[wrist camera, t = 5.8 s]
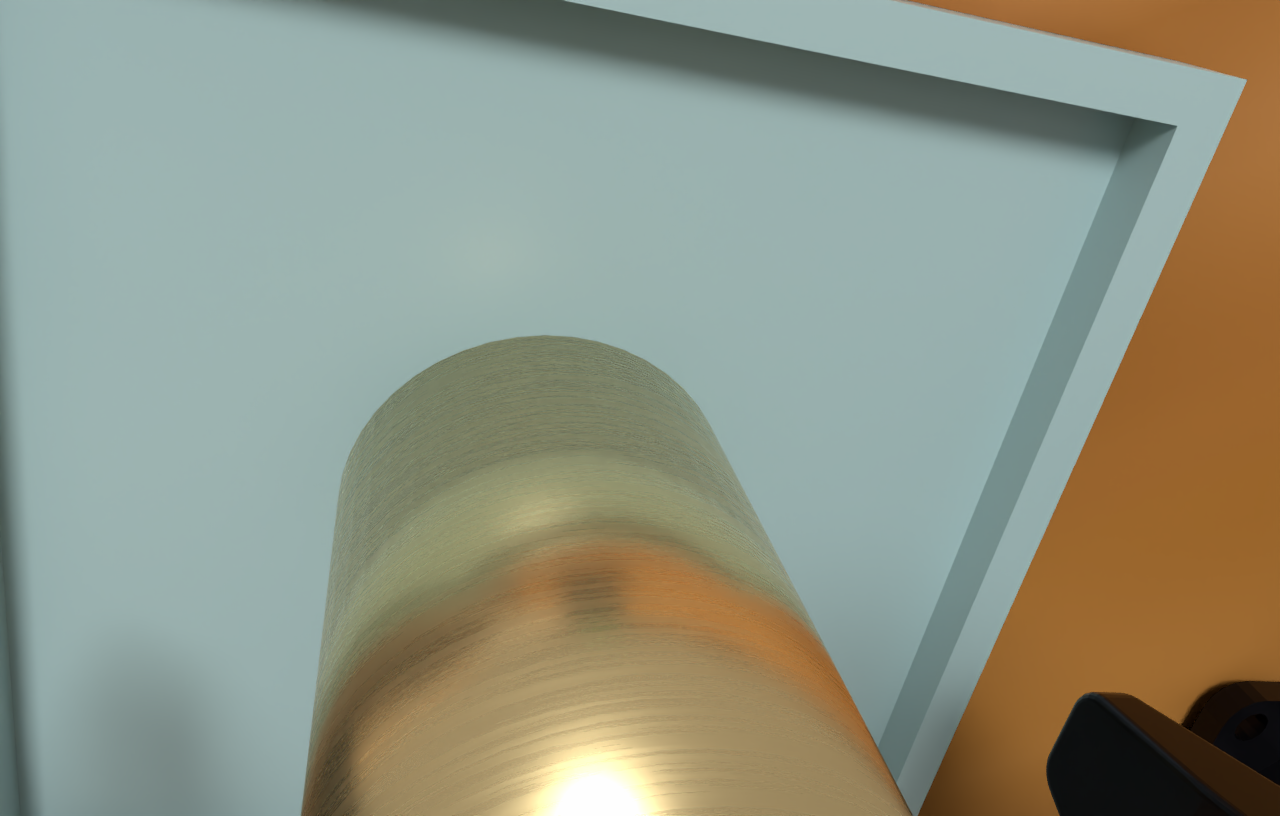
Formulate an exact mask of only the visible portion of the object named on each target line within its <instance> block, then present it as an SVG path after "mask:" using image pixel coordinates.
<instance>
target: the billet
mask: <svg viewBox="0 0 1280 816" xmlns="http://www.w3.org/2000/svg"><path fill="white" fill-rule="evenodd" d="M301 816H913V814H912V812H911V811H910V809H909V807H908V805H907V803H906V801H905V799H904V797H903V795H902V793H901V791H900V789H899V787H898V786H897V784H896V782H895V780H894V778H893V776H892V774H891V772H890V770H889V768H888V766H887V764H886V762H885V761H884V759H883V757H882V755H881V753H880V751H879V749H878V747H877V745H876V743H875V741H874V739H873V737H872V736H871V734H870V732H869V730H868V728H867V726H866V724H865V722H864V720H863V718H862V716H861V714H860V712H859V711H858V709H857V707H856V705H855V703H854V701H853V699H852V697H851V695H850V693H849V691H848V689H847V687H846V686H845V684H844V682H843V680H842V678H841V676H840V674H839V672H838V670H837V668H836V666H835V664H834V662H833V661H832V659H831V657H830V655H829V653H828V651H827V649H826V647H825V645H824V643H823V641H822V639H821V637H820V636H819V634H818V632H817V630H816V628H815V626H814V624H813V622H812V620H811V618H810V616H809V614H808V612H807V611H806V609H805V607H804V605H803V603H802V601H801V599H800V597H799V595H798V593H797V591H796V589H795V587H794V586H793V584H792V582H791V580H790V578H789V576H788V574H787V572H786V570H785V568H784V566H783V564H782V562H781V560H780V559H779V557H778V555H777V553H776V551H775V549H774V547H773V545H772V543H771V541H770V539H769V537H768V535H767V534H766V532H765V530H764V528H763V526H762V524H761V522H760V520H759V518H758V516H757V514H756V512H755V510H754V509H753V507H752V505H751V503H750V501H749V499H748V497H747V495H746V493H745V491H744V489H743V487H742V485H741V484H740V482H739V480H738V478H737V476H736V474H735V472H734V470H733V468H732V466H731V464H730V462H729V460H728V459H727V457H726V455H725V453H724V451H723V449H722V447H721V445H720V443H719V441H718V439H717V437H716V435H715V434H714V432H713V430H712V428H711V426H710V424H709V422H708V421H707V419H706V417H705V416H704V414H703V413H702V411H701V409H700V408H699V406H698V405H697V404H696V402H695V401H694V400H693V399H692V398H691V397H690V395H689V394H688V393H687V392H686V391H685V390H684V388H683V387H681V386H680V385H679V384H678V383H677V382H676V381H674V380H673V379H672V378H671V377H670V376H669V375H668V374H666V373H665V372H664V371H662V370H660V369H659V368H657V367H656V366H654V365H653V364H651V363H650V362H648V361H647V360H645V359H643V358H640V357H638V356H636V355H634V354H632V353H630V352H628V351H625V350H623V349H620V348H617V347H614V346H611V345H608V344H604V343H601V342H598V341H593V340H587V339H581V338H576V337H567V336H549V335H541V336H526V337H515V338H509V339H504V340H499V341H493V342H489V343H485V344H482V345H479V346H476V347H473V348H469V349H466V350H463V351H461V352H459V353H456V354H454V355H452V356H450V357H448V358H445V359H443V360H441V361H439V362H437V363H435V364H434V365H432V366H430V367H429V368H427V369H425V370H424V371H422V372H420V373H419V374H417V375H415V376H414V377H413V378H411V379H410V380H409V381H408V382H406V383H405V384H404V385H403V386H401V387H400V388H399V389H398V390H396V391H395V392H394V393H393V394H392V395H391V396H390V397H389V398H388V399H387V400H386V401H385V402H384V403H383V404H382V405H381V406H380V407H379V409H378V410H377V411H376V412H375V413H374V414H373V416H372V417H371V419H370V420H369V421H368V423H367V424H366V425H365V427H364V428H363V430H362V431H361V433H360V434H359V436H358V438H357V440H356V442H355V444H354V446H353V448H352V450H351V452H350V454H349V457H348V459H347V462H346V465H345V468H344V471H343V474H342V478H341V484H340V489H339V495H338V502H337V510H336V519H335V528H334V536H333V545H332V553H331V562H330V570H329V579H328V587H327V596H326V604H325V613H324V621H323V630H322V639H321V647H320V656H319V664H318V673H317V681H316V690H315V698H314V707H313V715H312V724H311V732H310V741H309V750H308V758H307V767H306V775H305V784H304V792H303V801H302V809H301Z"/></svg>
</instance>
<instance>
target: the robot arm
mask: <svg viewBox="0 0 1280 816" xmlns="http://www.w3.org/2000/svg"><path fill="white" fill-rule="evenodd" d="M1046 775H1047V781H1048V785H1049V789H1050V791H1051V794H1052V797H1053V799H1054V802H1055V805H1056V807H1057V810H1058V813H1059V815H1060V816H1280V682H1260V681H1245V682H1237V683H1234V684H1232V685H1229V686H1227V687H1225V688H1223V689H1221V690H1220V691H1219V692H1217V693H1216V694H1215V695H1213V696H1212V697H1211V698H1210V700H1209V701H1208V702H1207V703H1206V705H1205V706H1204V707H1203V709H1202V711H1201V713H1200V714H1199V716H1198V718H1197V720H1196V721H1195V723H1194V725H1193V726H1192V728H1191V730H1190V731H1189V730H1188V729H1186V728H1185V727H1183V726H1181V725H1180V724H1178V723H1176V722H1175V721H1173V720H1172V719H1170V718H1168V717H1167V716H1165V715H1163V714H1162V713H1160V712H1159V711H1157V710H1155V709H1154V708H1152V707H1150V706H1149V705H1147V704H1146V703H1144V702H1142V701H1141V700H1139V699H1137V698H1136V697H1134V696H1132V695H1128V694H1125V693H1110V692H1090V693H1087V694H1084V695H1083V696H1082V697H1080V698H1079V699H1078V700H1077V702H1076V703H1075V705H1074V707H1073V709H1072V711H1071V713H1070V714H1069V716H1068V718H1067V720H1066V722H1065V724H1064V726H1063V728H1062V730H1061V732H1060V734H1059V736H1058V738H1057V740H1056V742H1055V744H1054V746H1053V748H1052V750H1051V752H1050V754H1049V757H1048V760H1047V766H1046Z"/></svg>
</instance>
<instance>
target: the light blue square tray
mask: <svg viewBox="0 0 1280 816" xmlns="http://www.w3.org/2000/svg"><path fill="white" fill-rule="evenodd" d="M1246 81H1247V80H1246V79H1242V78H1238V77H1235V76H1231V75H1227V74H1223V73H1220V72H1216V71H1212V70H1209V69H1205V68H1201V67H1198V66H1194V65H1190V64H1187V63H1183V62H1179V61H1175V60H1171V59H1166V58H1162V57H1157V56H1153V55H1148V54H1144V53H1140V52H1135V51H1131V50H1126V49H1122V48H1117V47H1113V46H1108V45H1104V44H1099V43H1095V42H1091V41H1086V40H1082V39H1077V38H1073V37H1068V36H1064V35H1059V34H1055V33H1050V32H1046V31H1041V30H1037V29H1033V28H1028V27H1024V26H1019V25H1015V24H1010V23H1006V22H1001V21H997V20H992V19H988V18H984V17H979V16H975V15H970V14H966V13H961V12H957V11H952V10H948V9H943V8H939V7H935V6H930V5H926V4H921V3H917V2H912V1H908V0H0V816H301V809H302V801H303V792H304V784H305V775H306V767H307V758H308V750H309V741H310V732H311V724H312V715H313V707H314V698H315V690H316V681H317V673H318V664H319V656H320V647H321V639H322V630H323V621H324V613H325V604H326V596H327V587H328V579H329V570H330V562H331V553H332V545H333V536H334V528H335V519H336V510H337V502H338V495H339V489H340V484H341V478H342V474H343V471H344V468H345V465H346V462H347V459H348V457H349V454H350V452H351V450H352V448H353V446H354V444H355V442H356V440H357V438H358V436H359V434H360V433H361V431H362V430H363V428H364V427H365V425H366V424H367V423H368V421H369V420H370V419H371V417H372V416H373V414H374V413H375V412H376V411H377V410H378V409H379V407H380V406H381V405H382V404H383V403H384V402H385V401H386V400H387V399H388V398H389V397H390V396H391V395H392V394H393V393H394V392H395V391H396V390H398V389H399V388H400V387H401V386H403V385H404V384H405V383H406V382H408V381H409V380H410V379H411V378H413V377H414V376H415V375H417V374H419V373H420V372H422V371H424V370H425V369H427V368H429V367H430V366H432V365H434V364H435V363H437V362H439V361H441V360H443V359H445V358H448V357H450V356H452V355H454V354H456V353H459V352H461V351H463V350H466V349H469V348H473V347H476V346H479V345H482V344H485V343H489V342H493V341H499V340H504V339H509V338H515V337H526V336H541V335H549V336H567V337H576V338H581V339H587V340H593V341H598V342H601V343H604V344H608V345H611V346H614V347H617V348H620V349H623V350H625V351H628V352H630V353H632V354H634V355H636V356H638V357H640V358H643V359H645V360H647V361H648V362H650V363H651V364H653V365H654V366H656V367H657V368H659V369H660V370H662V371H664V372H665V373H666V374H668V375H669V376H670V377H671V378H672V379H673V380H674V381H676V382H677V383H678V384H679V385H680V386H681V387H683V388H684V390H685V391H686V392H687V393H688V394H689V395H690V397H691V398H692V399H693V400H694V401H695V402H696V404H697V405H698V406H699V408H700V409H701V411H702V413H703V414H704V416H705V417H706V419H707V421H708V422H709V424H710V426H711V428H712V430H713V432H714V434H715V435H716V437H717V439H718V441H719V443H720V445H721V447H722V449H723V451H724V453H725V455H726V457H727V459H728V460H729V462H730V464H731V466H732V468H733V470H734V472H735V474H736V476H737V478H738V480H739V482H740V484H741V485H742V487H743V489H744V491H745V493H746V495H747V497H748V499H749V501H750V503H751V505H752V507H753V509H754V510H755V512H756V514H757V516H758V518H759V520H760V522H761V524H762V526H763V528H764V530H765V532H766V534H767V535H768V537H769V539H770V541H771V543H772V545H773V547H774V549H775V551H776V553H777V555H778V557H779V559H780V560H781V562H782V564H783V566H784V568H785V570H786V572H787V574H788V576H789V578H790V580H791V582H792V584H793V586H794V587H795V589H796V591H797V593H798V595H799V597H800V599H801V601H802V603H803V605H804V607H805V609H806V611H807V612H808V614H809V616H810V618H811V620H812V622H813V624H814V626H815V628H816V630H817V632H818V634H819V636H820V637H821V639H822V641H823V643H824V645H825V647H826V649H827V651H828V653H829V655H830V657H831V659H832V661H833V662H834V664H835V666H836V668H837V670H838V672H839V674H840V676H841V678H842V680H843V682H844V684H845V686H846V687H847V689H848V691H849V693H850V695H851V697H852V699H853V701H854V703H855V705H856V707H857V709H858V711H859V712H860V714H861V716H862V718H863V720H864V722H865V724H866V726H867V728H868V730H869V732H870V734H871V736H872V737H873V739H874V741H875V743H876V745H877V747H878V749H879V751H880V753H881V755H882V757H883V759H884V761H885V762H886V764H887V766H888V768H889V770H890V772H891V774H892V776H893V778H894V780H895V782H896V784H897V786H898V787H899V789H900V791H901V793H902V795H903V797H904V799H905V801H906V803H907V805H908V807H909V809H910V811H911V812H912V814H913V816H918V813H919V811H920V809H921V807H922V804H923V802H924V800H925V798H926V795H927V793H928V791H929V789H930V787H931V784H932V782H933V780H934V778H935V775H936V773H937V771H938V769H939V766H940V764H941V762H942V760H943V758H944V755H945V753H946V751H947V749H948V746H949V744H950V742H951V740H952V737H953V735H954V733H955V731H956V729H957V726H958V724H959V722H960V720H961V717H962V715H963V713H964V711H965V708H966V706H967V704H968V702H969V700H970V697H971V695H972V693H973V691H974V688H975V686H976V684H977V682H978V679H979V677H980V675H981V673H982V670H983V668H984V666H985V664H986V662H987V659H988V657H989V655H990V653H991V650H992V648H993V646H994V644H995V641H996V639H997V637H998V635H999V633H1000V630H1001V628H1002V626H1003V624H1004V621H1005V619H1006V617H1007V615H1008V612H1009V610H1010V608H1011V606H1012V604H1013V601H1014V599H1015V597H1016V595H1017V592H1018V590H1019V588H1020V586H1021V583H1022V581H1023V579H1024V577H1025V575H1026V572H1027V570H1028V568H1029V566H1030V563H1031V561H1032V559H1033V557H1034V554H1035V552H1036V550H1037V548H1038V546H1039V543H1040V541H1041V539H1042V537H1043V534H1044V532H1045V530H1046V528H1047V525H1048V523H1049V521H1050V519H1051V517H1052V514H1053V512H1054V510H1055V508H1056V505H1057V503H1058V501H1059V499H1060V496H1061V494H1062V492H1063V490H1064V488H1065V485H1066V483H1067V481H1068V479H1069V476H1070V474H1071V472H1072V470H1073V467H1074V465H1075V463H1076V461H1077V459H1078V456H1079V454H1080V452H1081V450H1082V447H1083V445H1084V443H1085V441H1086V438H1087V436H1088V434H1089V432H1090V429H1091V427H1092V425H1093V423H1094V421H1095V418H1096V416H1097V414H1098V412H1099V409H1100V407H1101V405H1102V403H1103V400H1104V398H1105V396H1106V394H1107V392H1108V389H1109V387H1110V385H1111V383H1112V380H1113V378H1114V376H1115V374H1116V371H1117V369H1118V367H1119V365H1120V363H1121V360H1122V358H1123V356H1124V354H1125V351H1126V349H1127V347H1128V345H1129V342H1130V340H1131V338H1132V336H1133V334H1134V331H1135V329H1136V327H1137V325H1138V322H1139V320H1140V318H1141V316H1142V313H1143V311H1144V309H1145V307H1146V305H1147V302H1148V300H1149V298H1150V296H1151V293H1152V291H1153V289H1154V287H1155V284H1156V282H1157V280H1158V278H1159V276H1160V273H1161V271H1162V269H1163V267H1164V264H1165V262H1166V260H1167V258H1168V255H1169V253H1170V251H1171V249H1172V247H1173V244H1174V242H1175V240H1176V238H1177V235H1178V233H1179V231H1180V229H1181V226H1182V224H1183V222H1184V220H1185V217H1186V215H1187V213H1188V211H1189V209H1190V206H1191V204H1192V202H1193V200H1194V197H1195V195H1196V193H1197V191H1198V188H1199V186H1200V184H1201V182H1202V180H1203V177H1204V175H1205V173H1206V171H1207V168H1208V166H1209V164H1210V162H1211V159H1212V157H1213V155H1214V153H1215V151H1216V148H1217V146H1218V144H1219V142H1220V139H1221V137H1222V135H1223V133H1224V130H1225V128H1226V126H1227V124H1228V122H1229V119H1230V117H1231V115H1232V113H1233V110H1234V108H1235V106H1236V104H1237V101H1238V99H1239V97H1240V95H1241V93H1242V90H1243V88H1244V86H1245V84H1246Z"/></svg>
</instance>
